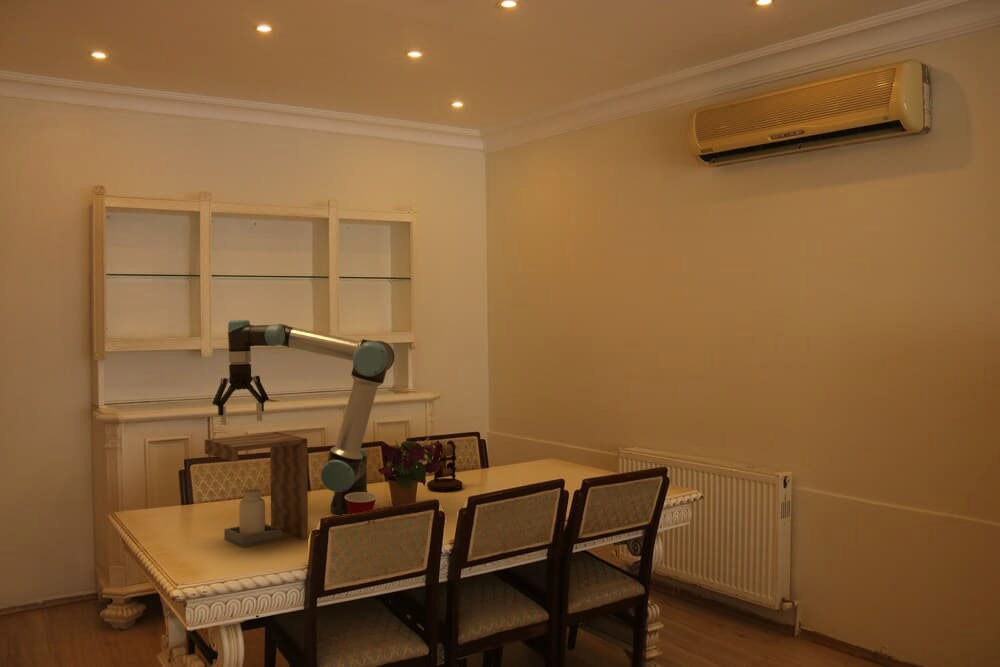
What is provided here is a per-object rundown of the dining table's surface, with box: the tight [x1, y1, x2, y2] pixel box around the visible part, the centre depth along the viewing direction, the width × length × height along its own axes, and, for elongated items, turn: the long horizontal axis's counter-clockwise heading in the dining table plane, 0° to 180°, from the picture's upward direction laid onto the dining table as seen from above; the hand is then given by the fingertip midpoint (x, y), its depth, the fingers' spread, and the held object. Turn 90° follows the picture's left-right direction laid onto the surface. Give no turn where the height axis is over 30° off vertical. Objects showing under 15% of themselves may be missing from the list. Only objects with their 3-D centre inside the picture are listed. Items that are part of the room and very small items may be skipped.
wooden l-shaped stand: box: [204, 431, 309, 540], centre depth 275 cm, size 21×25×32 cm
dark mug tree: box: [426, 439, 464, 493], centre depth 354 cm, size 15×15×20 cm
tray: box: [223, 523, 282, 549], centre depth 275 cm, size 13×13×4 cm
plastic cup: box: [345, 492, 378, 514], centre depth 286 cm, size 11×11×12 cm
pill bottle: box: [238, 488, 266, 535], centre depth 275 cm, size 8×8×15 cm
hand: (241, 422), depth 304 cm, fingers open, 13 cm apart
